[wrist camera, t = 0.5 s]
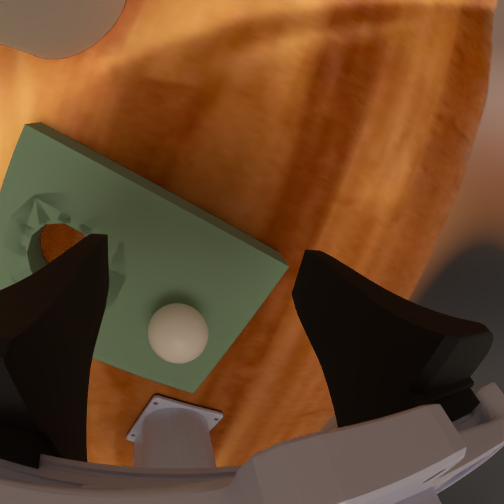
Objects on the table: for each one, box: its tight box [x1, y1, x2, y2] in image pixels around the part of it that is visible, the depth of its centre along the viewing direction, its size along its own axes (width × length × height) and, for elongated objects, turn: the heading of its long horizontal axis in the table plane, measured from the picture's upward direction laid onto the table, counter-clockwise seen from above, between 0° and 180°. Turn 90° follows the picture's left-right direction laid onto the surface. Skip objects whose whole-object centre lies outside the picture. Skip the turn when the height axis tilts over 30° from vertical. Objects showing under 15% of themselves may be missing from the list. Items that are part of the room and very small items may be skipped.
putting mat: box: [0, 122, 289, 393], centre depth 21 cm, size 20×14×2 cm
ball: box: [148, 303, 208, 364], centre depth 20 cm, size 4×4×4 cm
